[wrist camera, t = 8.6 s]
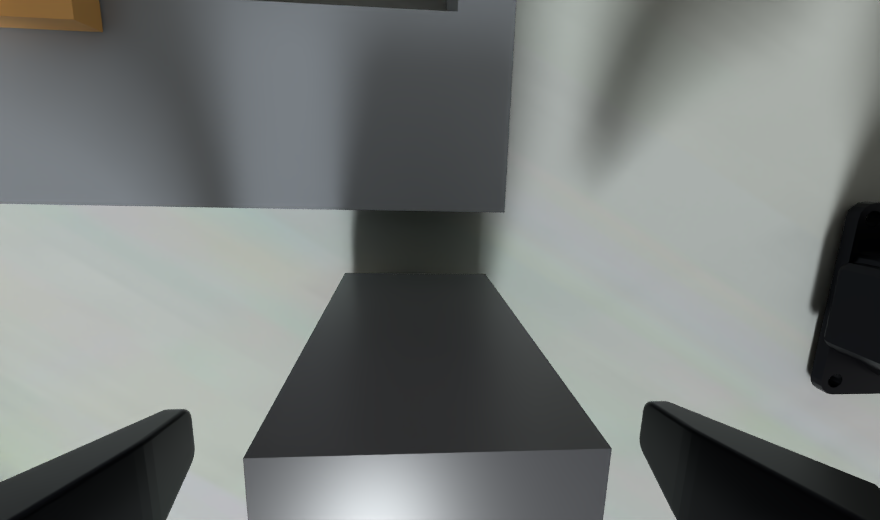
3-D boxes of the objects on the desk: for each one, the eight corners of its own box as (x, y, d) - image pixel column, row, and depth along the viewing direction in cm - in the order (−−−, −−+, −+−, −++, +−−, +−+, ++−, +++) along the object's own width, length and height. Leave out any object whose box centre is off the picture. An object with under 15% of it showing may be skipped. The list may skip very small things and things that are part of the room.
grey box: (479, 266, 14) (611, 448, 5) (474, 383, 15) (578, 718, 6) (349, 265, 13) (243, 458, 5) (351, 385, 14) (264, 743, 5)
